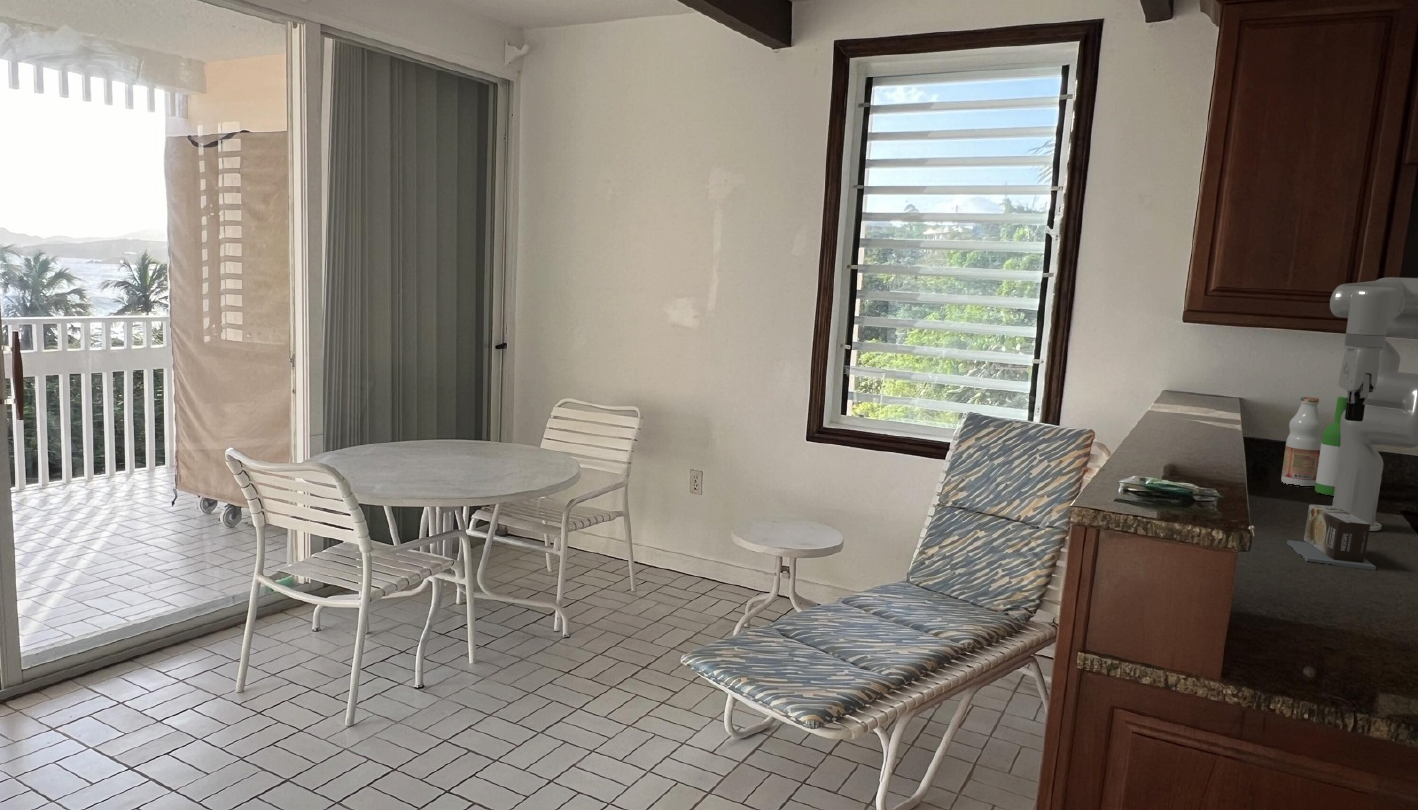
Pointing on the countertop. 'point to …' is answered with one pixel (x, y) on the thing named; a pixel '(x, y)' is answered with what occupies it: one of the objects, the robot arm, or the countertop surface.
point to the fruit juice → (1303, 445)
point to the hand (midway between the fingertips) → (1353, 420)
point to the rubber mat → (1325, 556)
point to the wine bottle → (1330, 453)
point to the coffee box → (1336, 533)
